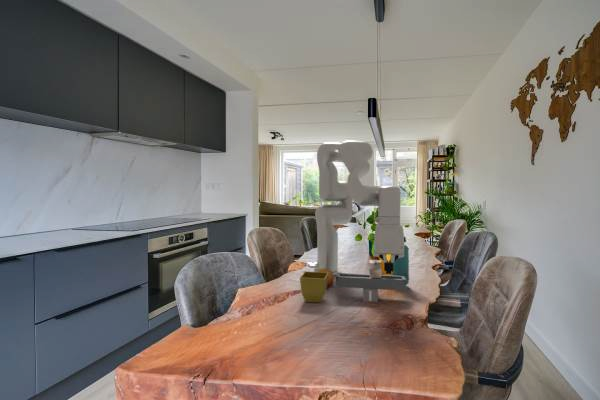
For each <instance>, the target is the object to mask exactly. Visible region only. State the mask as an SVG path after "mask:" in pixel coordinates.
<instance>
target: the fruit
mask: <svg viewBox="0 0 600 400" xmlns="http://www.w3.org/2000/svg"><path fill="white" fill-rule="evenodd" d="M316 272H325V273H328V282H327V288H331V287H332V286H333V283H334V279H335V278H334V277H335V275H333V273H332V272H331V271H330V270H328V269H319V270H317V271H316Z"/></svg>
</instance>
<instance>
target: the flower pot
mask: <svg viewBox="0 0 600 400" xmlns="http://www.w3.org/2000/svg"><path fill="white" fill-rule="evenodd" d="M299 282H300V291H301V295H302V297H303V299H304V301H305V302H306V303H316V304H317V303H318V304H319V303H322V301H323V299H324V297H325V295H326V291H327V288H328V287H327V282H328V273H325V272H314V271H304V272H303V273H302V274H301V275H300V276H299Z"/></svg>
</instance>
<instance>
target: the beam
mask: <svg viewBox="0 0 600 400" xmlns="http://www.w3.org/2000/svg"><path fill="white" fill-rule="evenodd" d="M335 288H347V289H349V288H351V289H362V301H363V302H371V303H374V302H375V303H378V302H379V296H378V295H379V290H385V291H386V290H388V291H402V292H403V291H404V292H405V291H406V292H407V285H406V278H405V276H394V275H392V274H382V276H381V278H371V277H370V274H369V273H367V274H366V273H350V272H349V273H345V272H341V273H337V275H335Z"/></svg>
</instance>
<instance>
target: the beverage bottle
mask: <svg viewBox="0 0 600 400" xmlns="http://www.w3.org/2000/svg"><path fill="white" fill-rule="evenodd" d="M406 242H407V238H406V236H404V243H406ZM409 249H410V248H409V247H408V245H406V244H404V255H405V256H404V257H402V258H398V259H397V260H395V261H394V263H393V271H391V275H394V276H405V278H406V286H407V285H409V283H410V281H409V280H410V273H409V272H410V267H409V266H410V265H409V264H410V263H409V262H410V259H409V256H410V255H409V252H410V251H409Z"/></svg>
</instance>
